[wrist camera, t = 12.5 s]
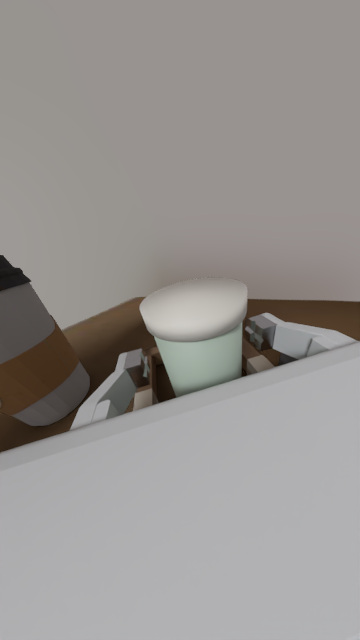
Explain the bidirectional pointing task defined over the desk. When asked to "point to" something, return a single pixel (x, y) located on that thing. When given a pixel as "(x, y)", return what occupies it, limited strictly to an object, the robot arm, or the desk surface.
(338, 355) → the robot arm
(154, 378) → the beam slot
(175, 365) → the mint green tumbler
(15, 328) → the coffee cup
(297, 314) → the desk surface
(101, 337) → the desk surface
